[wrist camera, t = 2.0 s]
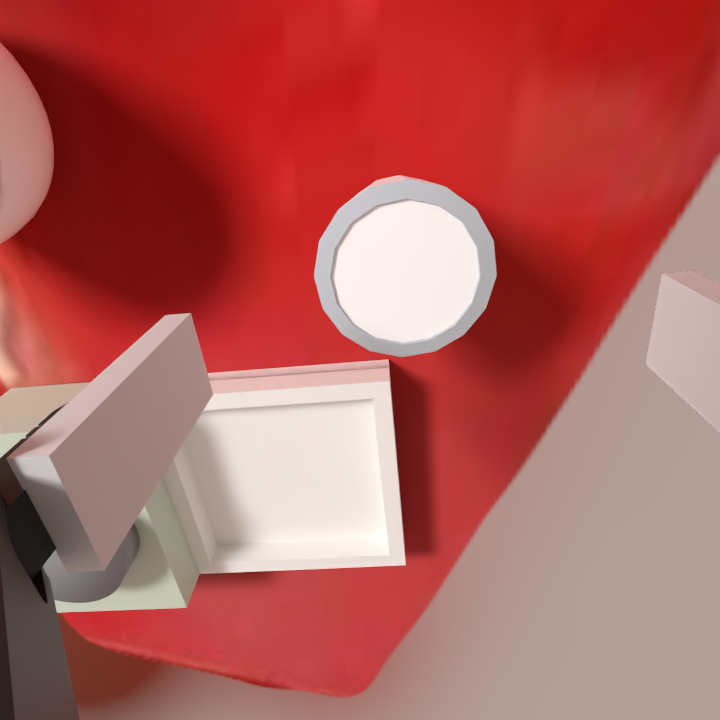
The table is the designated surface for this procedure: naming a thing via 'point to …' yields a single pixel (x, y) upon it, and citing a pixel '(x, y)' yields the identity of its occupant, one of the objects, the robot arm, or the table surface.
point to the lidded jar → (21, 148)
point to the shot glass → (405, 267)
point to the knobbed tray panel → (249, 485)
